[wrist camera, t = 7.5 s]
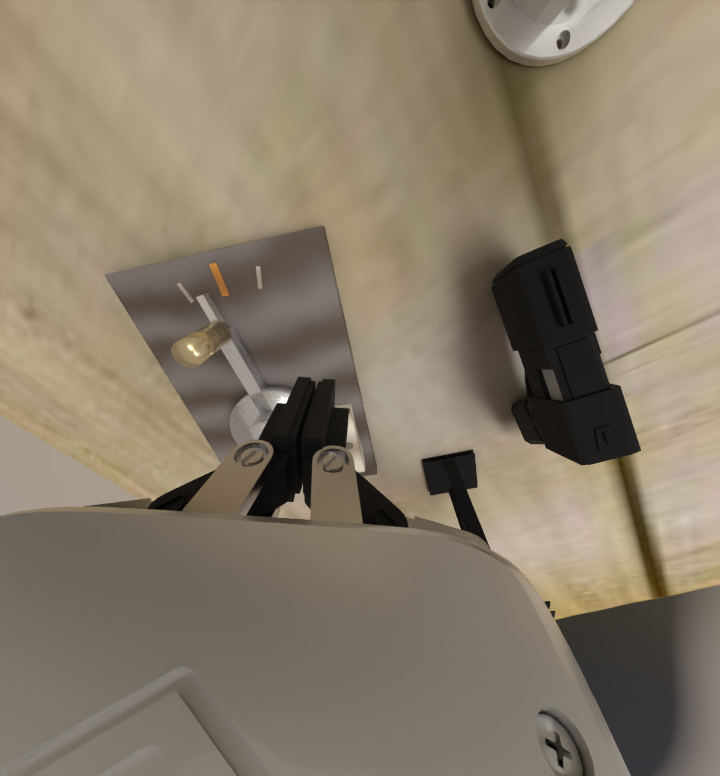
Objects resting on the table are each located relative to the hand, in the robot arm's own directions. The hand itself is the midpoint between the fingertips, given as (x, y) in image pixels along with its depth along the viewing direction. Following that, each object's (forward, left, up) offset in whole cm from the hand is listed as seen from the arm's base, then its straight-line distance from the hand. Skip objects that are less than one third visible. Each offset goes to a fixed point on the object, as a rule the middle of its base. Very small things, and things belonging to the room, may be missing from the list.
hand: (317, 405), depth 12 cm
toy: (+8, +19, -19) cm, 28 cm away
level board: (+8, -11, -19) cm, 23 cm away
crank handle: (+7, -12, -17) cm, 22 cm away
